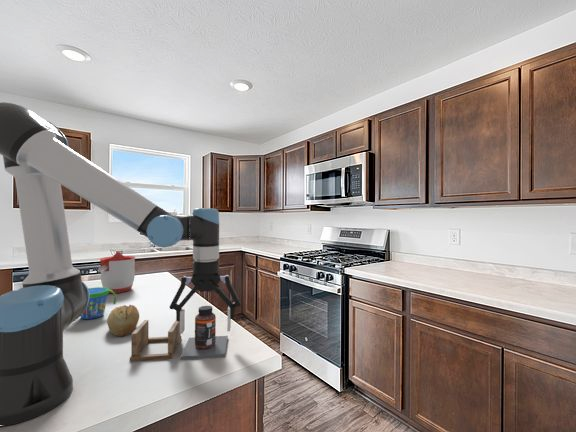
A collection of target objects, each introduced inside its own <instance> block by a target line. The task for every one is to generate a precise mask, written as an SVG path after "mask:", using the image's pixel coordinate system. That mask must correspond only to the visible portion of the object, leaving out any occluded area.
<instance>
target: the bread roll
mask: <svg viewBox="0 0 576 432" xmlns="http://www.w3.org/2000/svg"><path fill="white" fill-rule="evenodd" d="M139 319H140V312H139V310H138V308H137V307H136V306H135V305H133V304H129V305H126V304H125V305H120V306H117V307H115V308H114V309H112V310H111V311H110V313H109V315H108V316H107V321H106V322H107V328H108V330H109V331H110V332H111V334H113V336H116V337H124V336H126V335H129V334H131V333H133V332H134V331H135V328H137V325H138V323H139Z"/></svg>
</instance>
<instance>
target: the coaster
mask: <svg viewBox="0 0 576 432" xmlns="http://www.w3.org/2000/svg"><path fill="white" fill-rule="evenodd" d="M215 337H216V341H215V345H214V346H212V347H210V348H206V349H199V348H197V347H196V346H195V336H194V337H188V339H187V341H186V344H185V346H184V349H183V350H182V352H181V354H180V358H179V359H180V360H192V359H193V360H195V359H210V358H212V359H213V358H225V356H226V350H227V344H228V335H219V336H216V335H215Z"/></svg>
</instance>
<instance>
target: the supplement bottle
mask: <svg viewBox="0 0 576 432" xmlns="http://www.w3.org/2000/svg"><path fill="white" fill-rule="evenodd" d="M216 319H217V318H216V314H215V313H214V312H213V306H212V305H202V306H200V307H198V314H196V315H195V318H194V337H195V346H196V347H197V348H199V349H206V348H210V347H212V346H214V345H215V341H216V337H215V336H216V332H217V331H216V324H217V323H216V322H217V321H216Z"/></svg>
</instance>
